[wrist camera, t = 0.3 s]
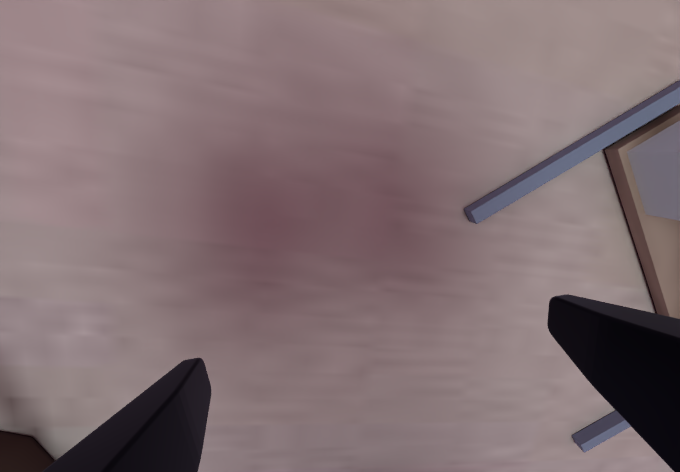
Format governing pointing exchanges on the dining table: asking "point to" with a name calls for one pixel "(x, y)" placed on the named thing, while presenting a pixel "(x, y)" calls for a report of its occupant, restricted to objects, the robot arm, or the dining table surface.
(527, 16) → the dining table surface
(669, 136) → the light blue-gray cube
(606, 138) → the lane rails
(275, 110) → the dining table surface
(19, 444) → the beer bottle
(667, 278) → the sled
